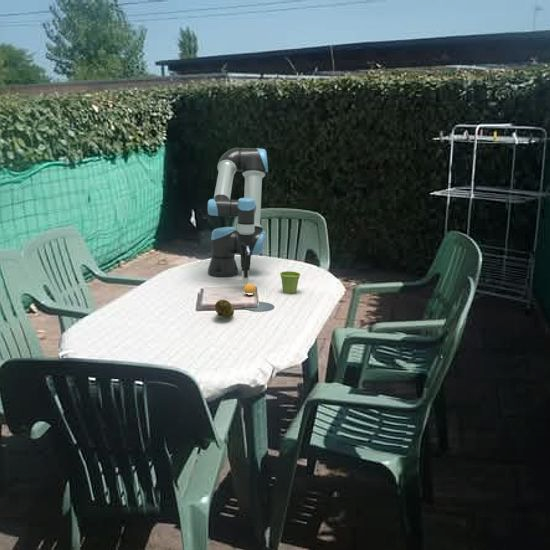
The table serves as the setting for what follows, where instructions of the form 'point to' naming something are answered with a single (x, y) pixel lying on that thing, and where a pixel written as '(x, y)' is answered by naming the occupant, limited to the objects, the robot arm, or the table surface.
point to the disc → (262, 307)
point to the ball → (249, 288)
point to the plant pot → (289, 281)
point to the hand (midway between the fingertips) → (245, 284)
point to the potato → (224, 308)
